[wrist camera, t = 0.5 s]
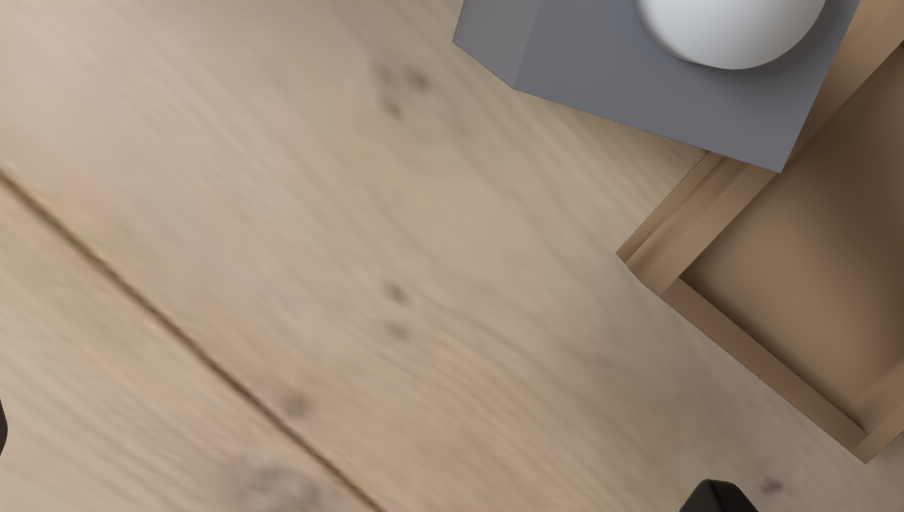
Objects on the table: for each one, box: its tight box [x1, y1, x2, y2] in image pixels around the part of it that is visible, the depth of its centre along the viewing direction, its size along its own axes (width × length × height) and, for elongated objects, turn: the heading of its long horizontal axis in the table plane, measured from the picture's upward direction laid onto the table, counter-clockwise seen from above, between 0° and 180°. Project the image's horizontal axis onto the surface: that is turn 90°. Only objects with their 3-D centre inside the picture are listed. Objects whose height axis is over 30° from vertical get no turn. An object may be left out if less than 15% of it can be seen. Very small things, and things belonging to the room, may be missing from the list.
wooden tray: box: [616, 0, 904, 464], centre depth 22 cm, size 11×11×2 cm
